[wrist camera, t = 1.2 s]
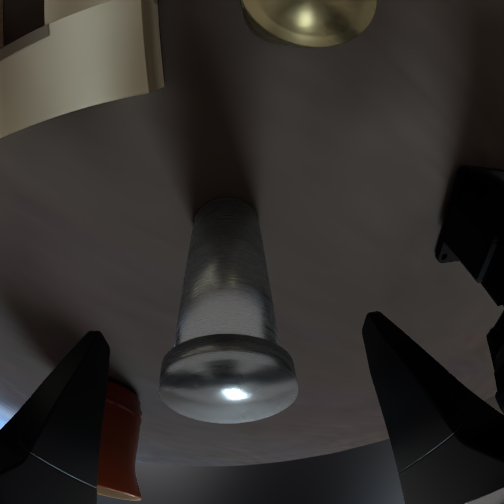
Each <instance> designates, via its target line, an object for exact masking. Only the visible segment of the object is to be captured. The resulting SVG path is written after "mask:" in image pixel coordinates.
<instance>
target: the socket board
mask: <svg viewBox="0 0 504 504" xmlns="http://www.w3.org/2000/svg"><path fill="white" fill-rule="evenodd" d="M44 13H45V26H43V27H40V28H38V29H36V30H34V31H32V32H30V33H28V34H27V35H25V36H23V37H21V38H19V39H17V40H15V41H14V42H12V43H10V44H8V45H7V46H5V47H4V38H3V0H0V138H2V137H4V136H7V135H9V134H11V133H14V132H16V131H19V130H21V129H24V128H26V127H29V126H31V125H34V124H37V123H39V122H42V121H45V120H48V119H51V118H54V117H57V116H60V115H63V114H66V113H69V112H72V111H76V110H79V109H83V108H86V107H90V106H93V105H97V104H101V103H105V102H109V101H113V100H117V99H122V98H126V97H131V96H136V95H141V94H146V93H150V92H152V91H155V90H158V89H160V88H163V87H165V86H164V77H163V67H162V56H161V45H160V32H159V18H158V1H157V0H44Z"/></svg>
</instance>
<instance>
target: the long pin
mask: <svg viewBox="0 0 504 504" xmlns="http://www.w3.org/2000/svg"><path fill="white" fill-rule="evenodd" d="M158 392H159V396H160V398H161V400H162V401H163V402H164V403H165V404H166V405H167V406H168V407H169V408H171V409H172V410H174V411H175V412H177V413H179V414H181V415H184V416H186V417H189V418H192V419H196V420H200V421H205V422H212V423H243V422H250V421H255V420H260V419H263V418H267V417H269V416H272V415H274V414H277V413H279V412H281V411H282V410H284V409H286V408H287V407H288V406H289V405H291V404H292V403H293V401H294V400H295V399H296V397H297V394H298V384H297V378H296V373H295V368H294V363H293V360H292V358H291V356H290V355H289V353H288V352H287V351H286V350H284V349H283V348H282V347H281V346H280V343H279V337H278V330H277V324H276V318H275V312H274V306H273V300H272V295H271V289H270V283H269V277H268V271H267V265H266V259H265V254H264V248H263V242H262V236H261V231H260V225H259V220H258V216H257V214H256V212H255V211H254V209H253V208H252V207H251V206H250V205H249V204H248V203H246V202H244V201H242V200H240V199H237V198H233V197H220V198H216V199H213V200H210V201H209V202H207V203H205V204H204V205H203V206H202V207H201V208H200V209H199V211H198V212H197V214H196V216H195V220H194V225H193V230H192V235H191V241H190V247H189V252H188V258H187V264H186V270H185V276H184V283H183V289H182V296H181V302H180V309H179V316H178V324H177V331H176V339H175V347H174V348H172V349H171V350H170V351H169V352H168V353H167V354H166V355H165V357H164V358H163V361H162V366H161V373H160V381H159V390H158Z"/></svg>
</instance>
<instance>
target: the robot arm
mask: <svg viewBox="0 0 504 504" xmlns="http://www.w3.org/2000/svg"><path fill="white" fill-rule="evenodd" d="M465 174H466V176H465ZM464 176H465V177H464ZM435 257H436V259H437V260H438V261H439V262H440V263H446V262H453V261H460V262H461V263H462V264H463V265H464V267H465V268H466V269H467V270H468V271H469V273H470V274H471V275H472V277H473V278H474V279H475V280H476V282H478V283H481V284H482V286H483V287H484V288H485V290H486V291H487V292H488V294H489V295H490V296H491V298H492V299H493V300H494V302H495V303H496V304H497V306H500V305H503V306H504V170H500V169H492V168H484V167H476V166H466V165H464V166H462V167H460V169H459V170H458V173H457V178H456V182H455V187H454V191H453V195H452V199H451V203H450V207H449V211H448V215H447V218H446V222H445V225H444V229H443V232H442V235H441V239H440V242H439V245H438V248H437V251H436V255H435ZM362 335H363V340H364V345H365V349H366V354H367V359H368V364H369V369H370V373H371V377H372V380H373V384H374V387H375V390H376V393H377V396H378V400H379V403H380V406H381V410H382V413H383V417H384V420H385V424H386V427H387V431H388V435H389V438H390V442H391V446H392V449H393V453H394V457H395V461H396V465H397V470H398V473H399V478H400V483H401V487H402V492H403V496H404V501H405V504H504V415H502V414H501V413H499V412H498V411H497V410H495V409H494V408H492V407H491V406H490V405H489V404H487V403H486V402H485V401H483V400H482V399H480V398H479V397H478V396H476V395H475V394H474V393H473V392H471V391H470V390H469V389H468V388H466V387H465V386H464V385H463V384H462V383H461V382H459V381H458V380H457V379H456V378H455V377H454V376H453V375H452V374H449V372H448V371H447V370H446V369H445V368H444V367H443V366H442V365H440V364H439V363H438V362H437V361H436V360H435V359H434V358H433V357H432V356H430V355H429V354H428V353H427V352H426V351H425V350H424V349H422V348H421V347H420V346H419V345H418V344H417V343H416V342H415V341H413V340H412V339H411V338H410V337H409V336H408V335H406V334H405V333H404V332H403V331H402V330H401V329H400V328H398V327H397V326H396V325H395V324H394V323H393V322H391V321H390V320H389V319H388V318H387V317H386V316H384V315H383V314H382V313H381V312H379V311H376V312H369V313H368V314H367V315H366V319H365V322H364V325H363V328H362ZM486 337H487V341H488V345H489V349H490V353H491V358H492V362H493V367H494V375H495V380H496V386H497V392H496V394H495V397H496V400H497V402H498V404H499V407H500V409H501V410H502V412H503V413H504V311H503V313H502V314H501V316H500V318H499V319H498V321H497V322H496V324H495V326H494V327H493V328H492V329H490V331H489V333H488V334H487V336H486ZM109 356H110V348H109V345H108V343H107V342H106V340H105V338H104V336H103V335H102V333H101V332H100V331H89V332H88V333H87V334H86V335H85V336H84V337H83V338H82V339H81V340H80V341H79V342H78V343H77V345H76V346H75V347H74V348H73V349H72V350H71V351H70V352H69V353H68V354H67V355H66V357H65V358H64V359H63V360H62V361H61V362H60V363H59V364H58V365H57V367H56V368H55V369H54V370H53V371H52V372H51V373H50V375H49V376H48V377H47V378H46V379H45V380H44V381H43V383H42V384H41V385H40V386H39V387H38V388H37V390H36V391H35V392H34V393H33V394H32V395H31V398H29V399H28V400H27V401H26V402H25V404H24V405H23V406H22V407H21V408H20V409H19V411H18V412H17V413H16V414H15V415H14V416H13V417H12V418H11V419H10V420H9V421H8V422H7V423H6V424H5V425H4V426H3V427H2V429H1V430H0V504H97V479H98V464H99V452H100V441H101V432H102V424H103V416H104V408H105V402H106V395H107V386H108V370H109Z"/></svg>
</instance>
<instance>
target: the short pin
mask: <svg viewBox="0 0 504 504" xmlns="http://www.w3.org/2000/svg"><path fill="white" fill-rule="evenodd" d="M240 2H241V5H242V7H243V12H244V18H245V21H246V23H247V25H248V27H249V28H250V29H251V31H252V32H253V33H254V34H255V35H257V36H258V37H259V38H261V39H263V40H264V41H266V42H269V43H272V44H275V45H283V46H288V45H292V46H296V47H303V48H319V47H327V46H334V45H338V44H342V43H345V42H347V41H350V40H351V39H353V38H355V37H357V36H358V35H359V34H361V33H362V32H363V31H364V30H365V29H366V28H367V26H368V25H369V24H370V22H371V20H372V18H373V16H374V13H375V10H376V5H377V0H240Z"/></svg>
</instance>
